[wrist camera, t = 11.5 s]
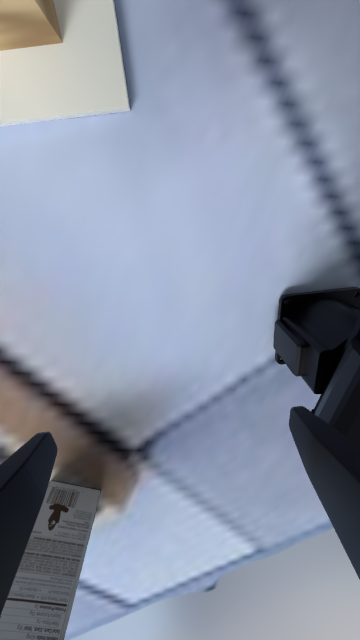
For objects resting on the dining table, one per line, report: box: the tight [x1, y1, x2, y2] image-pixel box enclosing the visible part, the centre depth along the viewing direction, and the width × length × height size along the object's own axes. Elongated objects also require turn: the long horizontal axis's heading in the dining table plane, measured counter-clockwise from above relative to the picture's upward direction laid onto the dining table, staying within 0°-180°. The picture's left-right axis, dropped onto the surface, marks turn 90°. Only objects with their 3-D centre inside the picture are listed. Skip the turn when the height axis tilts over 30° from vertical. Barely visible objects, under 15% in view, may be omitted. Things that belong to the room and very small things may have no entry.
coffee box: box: [0, 481, 101, 640], centre depth 23 cm, size 9×6×16 cm
